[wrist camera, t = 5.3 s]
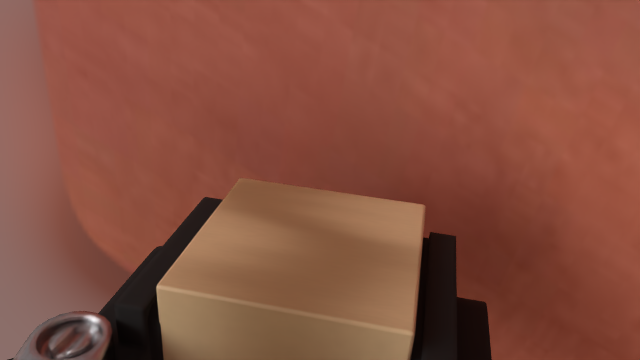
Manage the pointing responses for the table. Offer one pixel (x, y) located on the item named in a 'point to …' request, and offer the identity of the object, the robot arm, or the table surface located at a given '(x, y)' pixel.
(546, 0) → the table surface
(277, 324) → the block
